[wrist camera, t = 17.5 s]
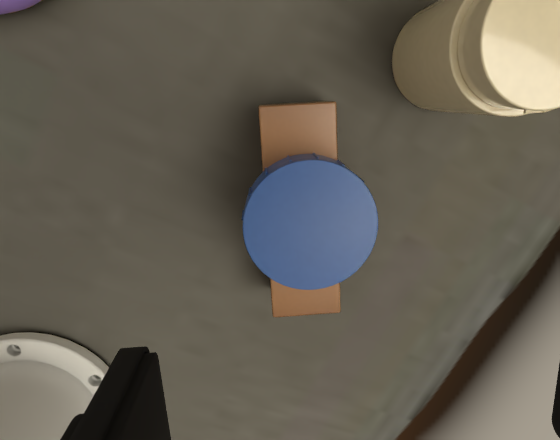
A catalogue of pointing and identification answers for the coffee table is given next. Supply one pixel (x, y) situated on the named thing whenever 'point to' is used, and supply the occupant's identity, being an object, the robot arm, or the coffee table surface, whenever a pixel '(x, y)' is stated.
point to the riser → (292, 141)
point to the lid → (309, 222)
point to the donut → (16, 5)
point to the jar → (481, 57)
